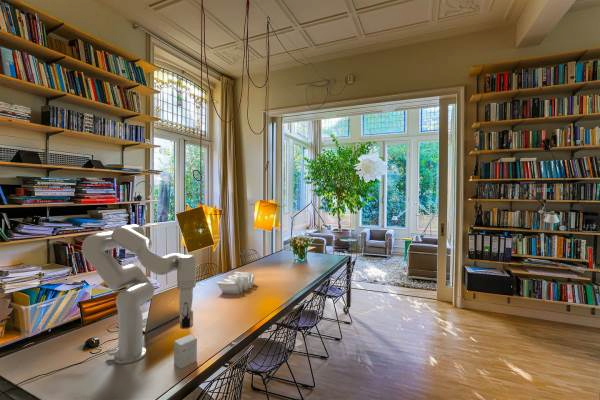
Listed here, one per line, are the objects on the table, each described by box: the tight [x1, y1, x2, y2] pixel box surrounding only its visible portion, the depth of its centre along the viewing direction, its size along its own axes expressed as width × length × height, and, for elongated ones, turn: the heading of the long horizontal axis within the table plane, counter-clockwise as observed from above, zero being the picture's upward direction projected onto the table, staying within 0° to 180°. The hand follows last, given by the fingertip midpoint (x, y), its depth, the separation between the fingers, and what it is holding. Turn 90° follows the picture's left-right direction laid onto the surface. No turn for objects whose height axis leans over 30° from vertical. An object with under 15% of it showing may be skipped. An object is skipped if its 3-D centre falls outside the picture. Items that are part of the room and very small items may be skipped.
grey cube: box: [179, 309, 194, 330], centre depth 127 cm, size 6×6×6 cm
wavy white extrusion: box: [216, 271, 255, 295], centre depth 225 cm, size 35×16×10 cm, turn 155°
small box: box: [173, 334, 198, 370], centre depth 127 cm, size 8×6×10 cm
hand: (186, 323), depth 127 cm, fingers closed on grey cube, 5 cm apart
